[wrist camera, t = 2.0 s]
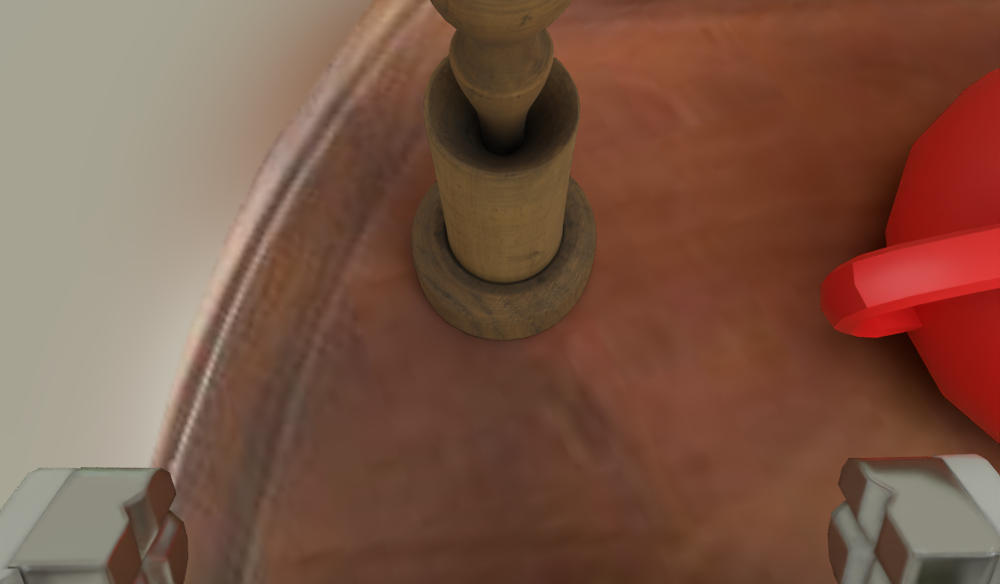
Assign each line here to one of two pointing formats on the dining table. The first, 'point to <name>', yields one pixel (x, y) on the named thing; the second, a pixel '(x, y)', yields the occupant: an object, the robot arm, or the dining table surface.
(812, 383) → the dining table surface
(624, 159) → the dining table surface
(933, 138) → the teapot
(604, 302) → the dining table surface
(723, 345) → the dining table surface
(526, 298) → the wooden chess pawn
